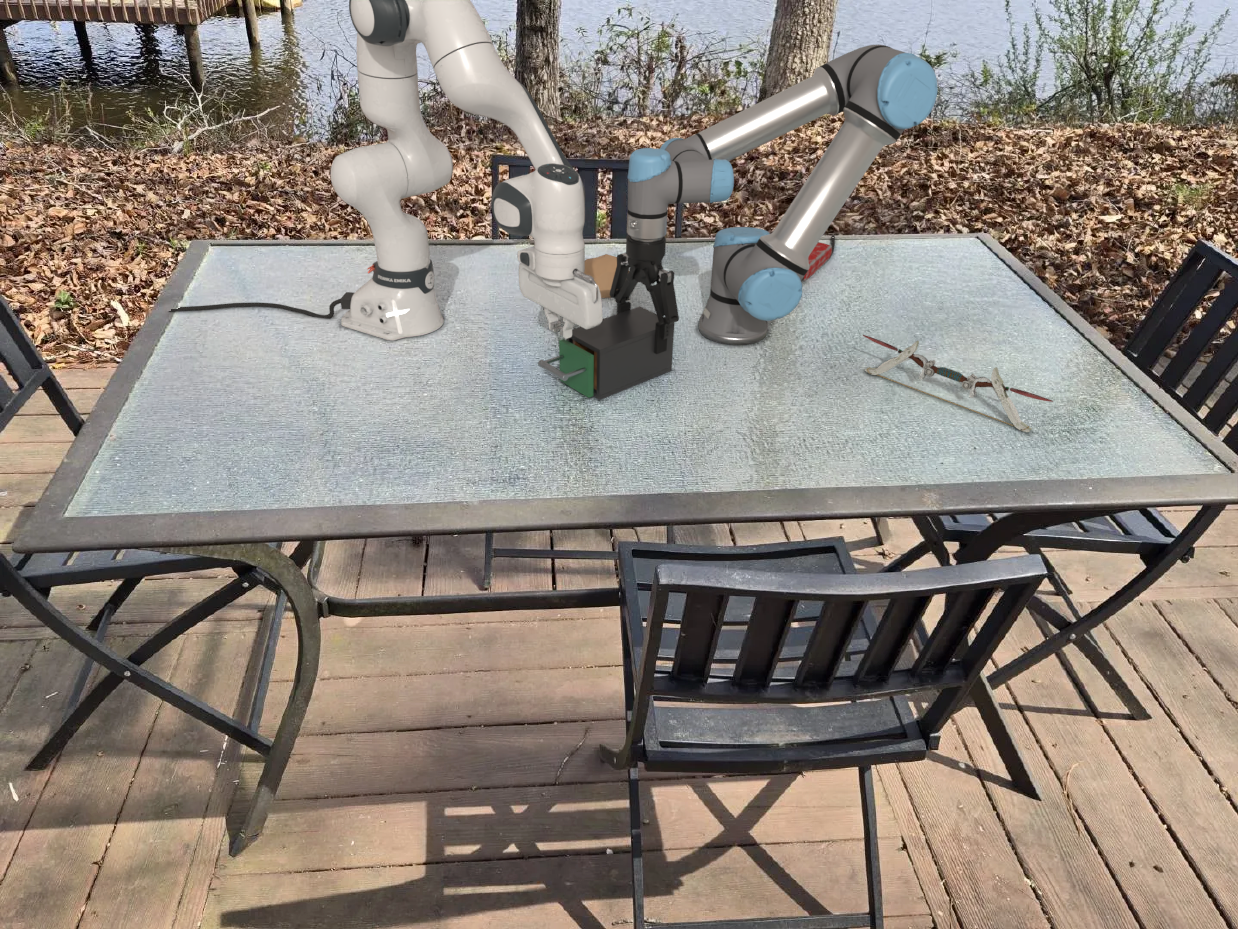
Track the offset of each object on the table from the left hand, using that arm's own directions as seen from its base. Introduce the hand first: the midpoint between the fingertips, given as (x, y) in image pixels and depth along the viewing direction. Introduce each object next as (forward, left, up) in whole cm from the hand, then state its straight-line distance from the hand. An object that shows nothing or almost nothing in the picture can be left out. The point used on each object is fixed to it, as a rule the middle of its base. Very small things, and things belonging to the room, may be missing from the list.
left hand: (560, 333), depth 162 cm
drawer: (+5, +8, -13) cm, 16 cm away
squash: (-13, +51, -14) cm, 54 cm away
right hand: (+11, +18, -8) cm, 22 cm away
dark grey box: (+8, +13, -14) cm, 20 cm away
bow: (+70, +26, -14) cm, 76 cm away
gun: (+28, +83, -14) cm, 88 cm away
